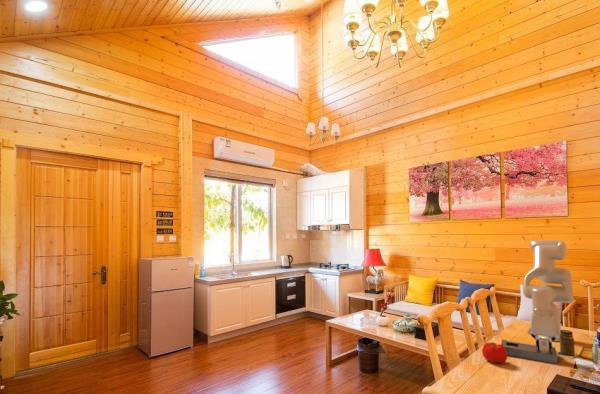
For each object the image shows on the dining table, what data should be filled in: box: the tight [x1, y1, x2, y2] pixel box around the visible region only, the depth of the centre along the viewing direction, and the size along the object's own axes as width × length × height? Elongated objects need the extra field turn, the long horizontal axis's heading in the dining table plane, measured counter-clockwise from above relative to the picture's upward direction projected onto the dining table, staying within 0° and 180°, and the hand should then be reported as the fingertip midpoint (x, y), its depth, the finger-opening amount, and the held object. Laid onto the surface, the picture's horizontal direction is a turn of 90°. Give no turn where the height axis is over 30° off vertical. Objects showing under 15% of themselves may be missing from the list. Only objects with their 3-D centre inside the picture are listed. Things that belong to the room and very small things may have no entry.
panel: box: [500, 339, 559, 365], centre depth 179 cm, size 14×24×4 cm, turn 57°
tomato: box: [481, 341, 508, 364], centre depth 170 cm, size 11×11×9 cm
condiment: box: [556, 329, 579, 359], centre depth 180 cm, size 7×8×12 cm
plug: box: [538, 337, 549, 352], centre depth 175 cm, size 5×4×9 cm
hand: (544, 348), depth 175 cm, fingers closed on plug, 4 cm apart
